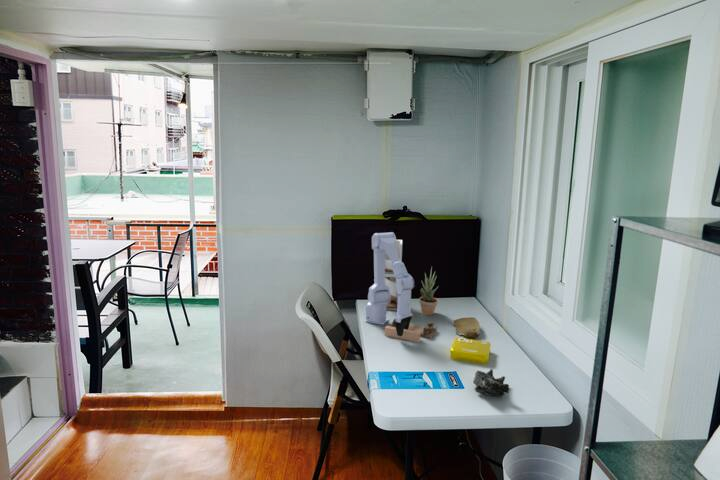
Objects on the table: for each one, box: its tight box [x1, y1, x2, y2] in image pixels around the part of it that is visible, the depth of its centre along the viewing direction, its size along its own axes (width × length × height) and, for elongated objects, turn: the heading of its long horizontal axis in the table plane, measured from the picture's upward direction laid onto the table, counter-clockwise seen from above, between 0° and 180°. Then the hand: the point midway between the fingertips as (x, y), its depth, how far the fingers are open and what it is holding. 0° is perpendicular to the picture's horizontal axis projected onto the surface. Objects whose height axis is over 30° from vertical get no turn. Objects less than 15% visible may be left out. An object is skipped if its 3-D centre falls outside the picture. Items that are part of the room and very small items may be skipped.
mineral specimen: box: [473, 368, 510, 397], centre depth 174 cm, size 15×13×10 cm
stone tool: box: [452, 316, 482, 340], centre depth 230 cm, size 12×4×25 cm
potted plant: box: [418, 266, 439, 316], centre depth 251 cm, size 10×10×25 cm
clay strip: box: [384, 325, 422, 343], centre depth 220 cm, size 16×2×4 cm, turn 65°
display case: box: [385, 239, 403, 312], centre depth 258 cm, size 11×11×35 cm
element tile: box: [449, 336, 491, 365], centre depth 204 cm, size 15×15×5 cm
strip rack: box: [390, 320, 437, 339], centre depth 229 cm, size 20×10×4 cm, turn 66°
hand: (402, 332), depth 220 cm, fingers open, 7 cm apart
